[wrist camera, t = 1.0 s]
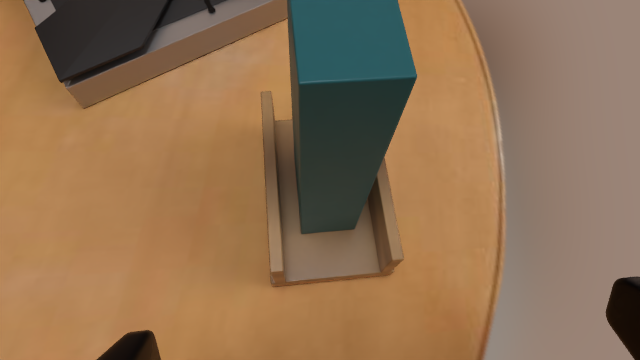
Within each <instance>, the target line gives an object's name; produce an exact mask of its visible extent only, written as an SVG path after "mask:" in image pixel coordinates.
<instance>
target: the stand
mask: <svg viewBox="0 0 640 360" xmlns="http://www.w3.org/2000/svg"><path fill="white" fill-rule="evenodd" d="M261 107H262V126H263V145H264V165H265V184H266V204H267V223H268V242H269V262H270V279H271V285H272V286H273V287H276V286H285V285H295V284H305V283H315V282H325V281H335V280H345V279H355V278H365V277H375V276H385V275H391V274H392V273H393V272H394V268H395V267H396V266H397V265H398V264H399V263H400V262H401V261H403V260H404V256H403V251H402V246H401V241H400V235H399V230H398V225H397V220H396V215H395V210H394V204H393V199H392V194H391V189H390V184H389V179H388V174H387V168H386V163H385V158H384V159H383V161H382V164H381V166H380V169H379V171H378V173H377V176H376V178H375V181H374V183H373V186H372V188H371V190H370V193H369V195H368V198H367V200H366V203H365V205H364V208H363V210H362V212H361V215H360V217H359V220H358V222H357V225H356V227H355V229H352V230H341V231H330V232H319V233H308V234H301V227H300V215H299V204H298V193H297V181H296V170H295V158H294V140H293V120H280V121H275V116H274V107H273V99H272V92H271V91H264V92H261Z"/></svg>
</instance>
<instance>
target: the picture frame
mask: <svg viewBox="0 0 640 360" xmlns="http://www.w3.org/2000/svg"><path fill="white" fill-rule="evenodd" d="M24 2H25V5H26V7H27V9H28V11H29V13H30V15H31V17H32V19H33V21H34V23H35V25H36V27H35V30H36V32H37V34H38V36H39V39H40V41H41V43H42V45H43V47H44V49H45V51H46V54H47V56H48V58H49V60H50V62H51V64H52V66H53V69H54V71H55V73H56V75H57V77H58V79H59V81H60V82H61V83H62V82H63V83H64V85H65V87H66V89H67V90H68V91H69V92H70V93H71V95H72V96H73V97H74V98H75V99H76V100H77V101H78V102H79V103H80V105H81V106H82V107H83V108H86V107H88V106H90V105H93V104H95V103H97V102H99V101H102V100H104V99H106V98H108V97H111V96H113V95H115V94H117V93H120V92H122V91H124V90H126V89H129V88H131V87H133V86H135V85H138V84H140V83H142V82H144V81H147V80H149V79H151V78H153V77H156V76H158V75H160V74H162V73H165V72H167V71H169V70H171V69H174V68H176V67H178V66H180V65H183V64H185V63H187V62H189V61H192V60H194V59H196V58H198V57H201V56H203V55H205V54H207V53H210V52H212V51H214V50H216V49H219V48H221V47H223V46H225V45H228V44H230V43H232V42H234V41H237V40H239V39H241V38H243V37H245V36H248V35H250V34H252V33H254V32H257V31H259V30H261V29H263V28H266V27H268V26H270V25H272V24H275V23H277V22H279V21H281V20H284V19H286V18H288V12H287V0H24Z"/></svg>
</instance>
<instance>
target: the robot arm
mask: <svg viewBox="0 0 640 360" xmlns="http://www.w3.org/2000/svg"><path fill="white" fill-rule="evenodd" d="M606 317H607V320H608V322H609V324H610V326H611V327H612V329H613V330H614V331H615V333H616V334H617V335H618V337H619V338H620V340H621V341H622V342H623V344H624V345H625V347H626V348H627V349H628V351H629V352H630V354H631V355H632V356H633V358H634V359H635V360H640V277H628V278H620V279H618V280H616V281H615V283H614V284H613V287H612V291H611V295H610V298H609V302H608V305H607V309H606ZM97 360H161V358H160V354H159V350H158V347H157V343H156V339H155V336H154V334H153V332H152V331H149V330H145V331H136V332H130V333H127V334H126V335H124V336H123V337H122V338H121V339H120V340H118V341H117V342H116V343H115V344H114V345H113V346H112V347H110V348H109V349H108V350H107V351H106V352H105V353H104V354H102V355H101V356H100V357H99V358H98V359H97Z"/></svg>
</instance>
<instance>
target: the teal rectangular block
mask: <svg viewBox="0 0 640 360" xmlns="http://www.w3.org/2000/svg"><path fill="white" fill-rule="evenodd" d="M287 12H288V33H289V55H290V76H291V97H292V119H293V140H294V158H295V170H296V181H297V193H298V204H299V215H300V227H301V234H308V233H319V232H330V231H341V230H352V229H355V227H356V225H357V222H358V220H359V217H360V215H361V212H362V210H363V208H364V205H365V203H366V200H367V198H368V195H369V193H370V190H371V188H372V186H373V183H374V181H375V178H376V176H377V173H378V171H379V169H380V166H381V164H382V161H383V159H384V156H385V154H386V151H387V149H388V147H389V144H390V142H391V139H392V137H393V134H394V132H395V130H396V127H397V125H398V122H399V120H400V117H401V115H402V113H403V110H404V108H405V105H406V103H407V100H408V98H409V95H410V93H411V91H412V88H413V86H414V83H415V81H416V78H417V74H416V70H415V66H414V62H413V58H412V54H411V51H410V47H409V43H408V39H407V35H406V31H405V27H404V23H403V19H402V16H401V12H400V8H399V4H398V0H287Z"/></svg>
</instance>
